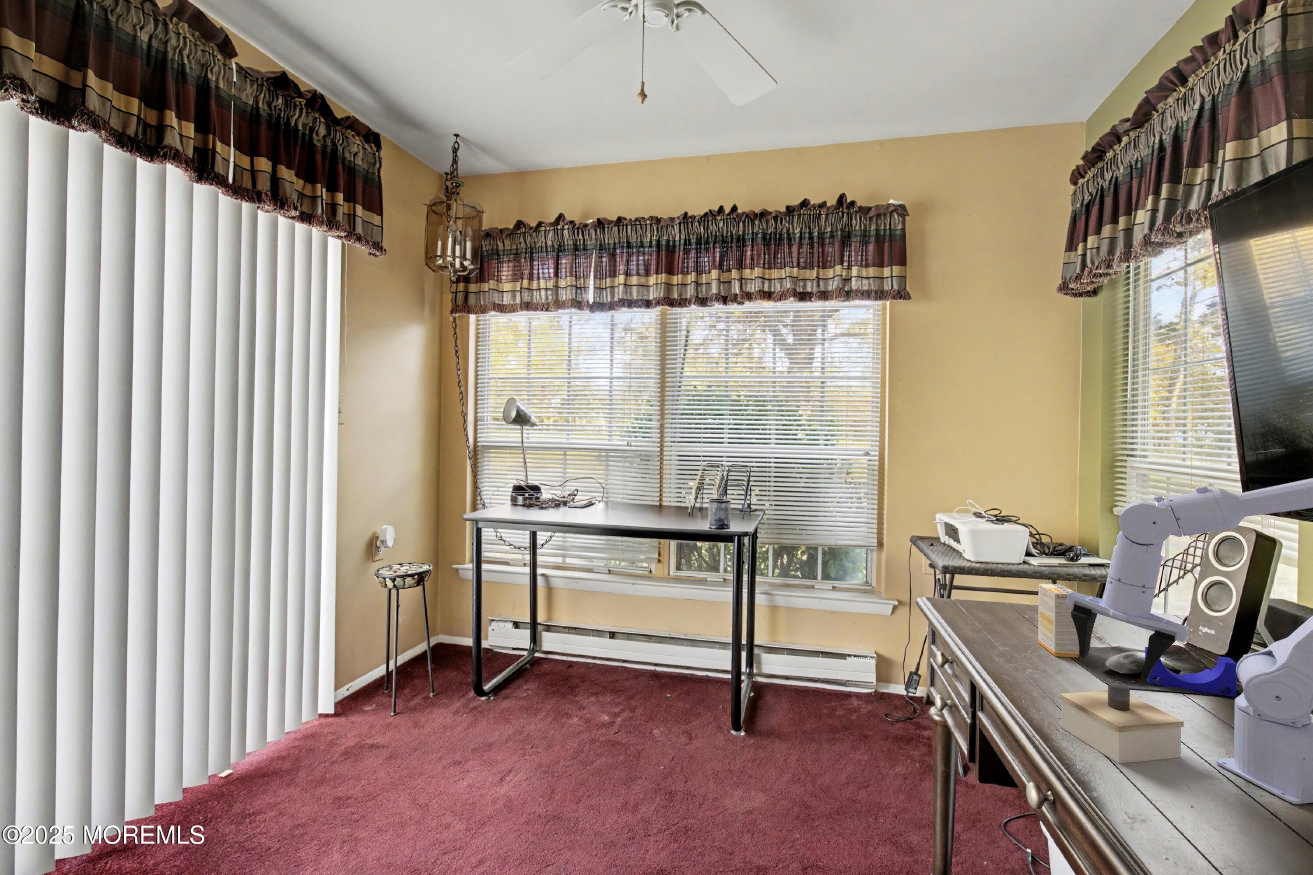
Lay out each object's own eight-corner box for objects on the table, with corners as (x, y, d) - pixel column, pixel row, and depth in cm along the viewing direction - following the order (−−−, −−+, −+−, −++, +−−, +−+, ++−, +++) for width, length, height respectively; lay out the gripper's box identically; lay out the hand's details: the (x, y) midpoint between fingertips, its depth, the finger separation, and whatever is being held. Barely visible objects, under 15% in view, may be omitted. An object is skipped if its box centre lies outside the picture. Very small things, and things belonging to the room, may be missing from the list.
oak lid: (1183, 730, 85) (1184, 700, 85) (1118, 736, 84) (1119, 705, 84) (1118, 698, 96) (1118, 670, 96) (1059, 702, 94) (1059, 674, 94)
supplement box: (1080, 658, 122) (1081, 594, 122) (1054, 656, 123) (1054, 593, 123) (1061, 643, 130) (1062, 583, 130) (1037, 642, 131) (1037, 582, 131)
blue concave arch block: (1226, 687, 109) (1226, 654, 108) (1236, 697, 105) (1236, 663, 104) (1142, 675, 114) (1142, 643, 114) (1149, 684, 110) (1149, 652, 110)
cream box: (1180, 757, 86) (1181, 726, 86) (1118, 763, 84) (1118, 731, 84) (1117, 722, 96) (1118, 694, 96) (1061, 727, 94) (1061, 699, 94)
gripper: (1067, 568, 92) (1050, 652, 94) (1190, 603, 82) (1168, 697, 83) (1080, 562, 97) (1064, 642, 99) (1199, 595, 86) (1178, 683, 88)
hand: (1113, 666), depth 91 cm, fingers open, 7 cm apart
